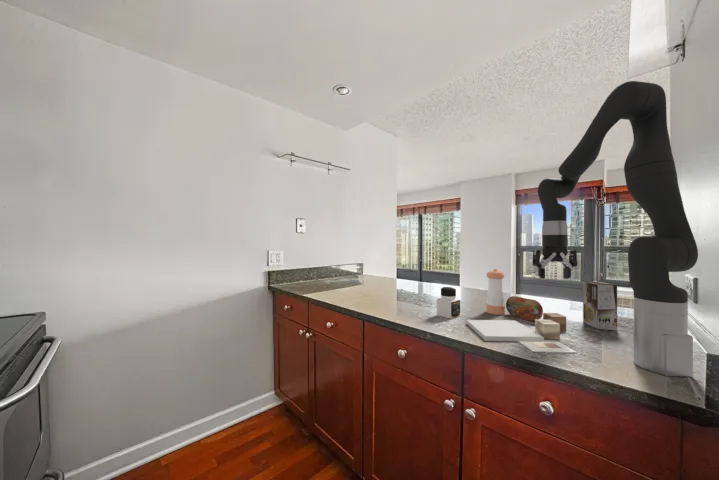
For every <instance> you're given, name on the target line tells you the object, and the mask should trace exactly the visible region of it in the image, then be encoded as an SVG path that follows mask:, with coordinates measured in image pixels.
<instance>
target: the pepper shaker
mask: <svg viewBox="0 0 719 480" xmlns="http://www.w3.org/2000/svg"><path fill="white" fill-rule="evenodd" d="M486 277H487V278H488V285H487V286H488V289H487V295H486V301H487V303H485V304H486V305H485V306H486V307H485V308H486V309H485V310H486V311H485V312H486V313H488V314H491V315H496V316H498V315H505V313H506V310H505V309H506V305H505V304H504V303H505V300H504V299H505V296H504V289H503V279H504V278H505V274H504V272H502V271H501V270H500V271H499V270H498V269H497V268H493V270H490V271H488V272H487V273H486Z"/></svg>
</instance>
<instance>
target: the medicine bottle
mask: <svg viewBox="0 0 719 480" xmlns="http://www.w3.org/2000/svg"><path fill="white" fill-rule="evenodd" d="M456 289H457V288H455V287H452V286H451V287H450V286H443V287H441V288H440V297H439V298H436V316H437V317H441V318H446V319H451V320H453V319H455V318H458V317H461V299H460V298H457V290H456Z"/></svg>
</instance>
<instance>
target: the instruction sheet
mask: <svg viewBox="0 0 719 480" xmlns="http://www.w3.org/2000/svg"><path fill="white" fill-rule="evenodd" d="M517 343H519V344H521V345H522V346H524V347H525V348H526V349H527V350H529V351H531V352H532V353H544V352H545V353H549V354H550V353H551V354H552V353H556V354H557V353H558V354H559V353H560V354H561V353H563V354H577V353H578V352H577V351H576V350H574V349H572V348H570V347H569V346H567V345H565V344H563V343H561V342H560V341H558V340H557V339H544V341H521V340H518V341H517Z"/></svg>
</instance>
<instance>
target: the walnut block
mask: <svg viewBox="0 0 719 480" xmlns="http://www.w3.org/2000/svg"><path fill="white" fill-rule="evenodd" d="M542 320H552V321H554V322H556V323H558V324H560V332H562V331H566V332H567V316H565V315H563V314H561V313H558V312H543V315H542Z"/></svg>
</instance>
